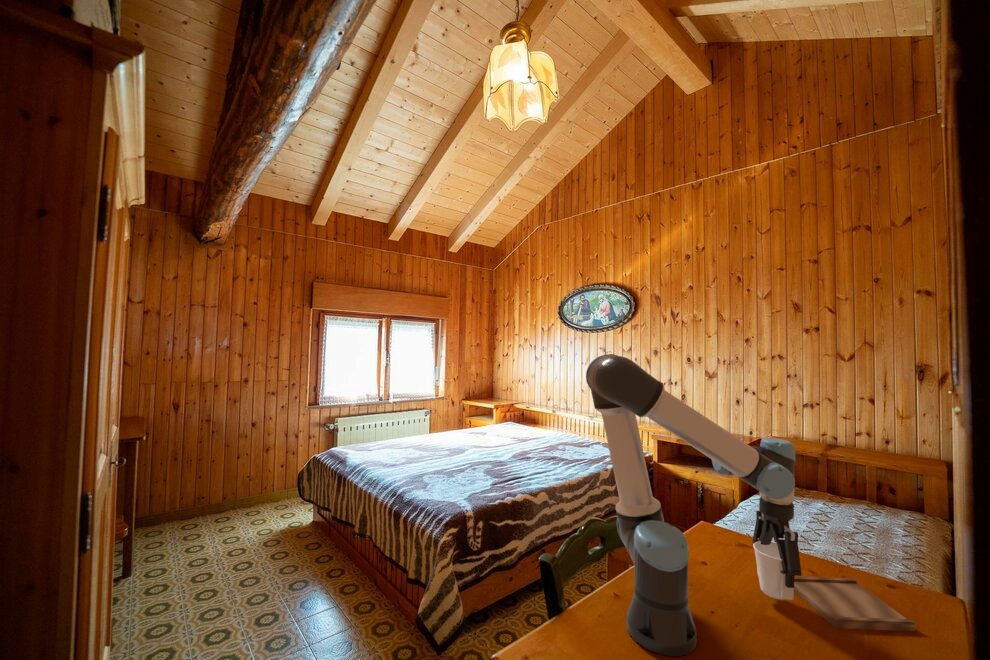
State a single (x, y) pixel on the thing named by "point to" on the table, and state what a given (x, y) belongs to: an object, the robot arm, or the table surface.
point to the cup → (769, 568)
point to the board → (849, 604)
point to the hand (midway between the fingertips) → (774, 586)
